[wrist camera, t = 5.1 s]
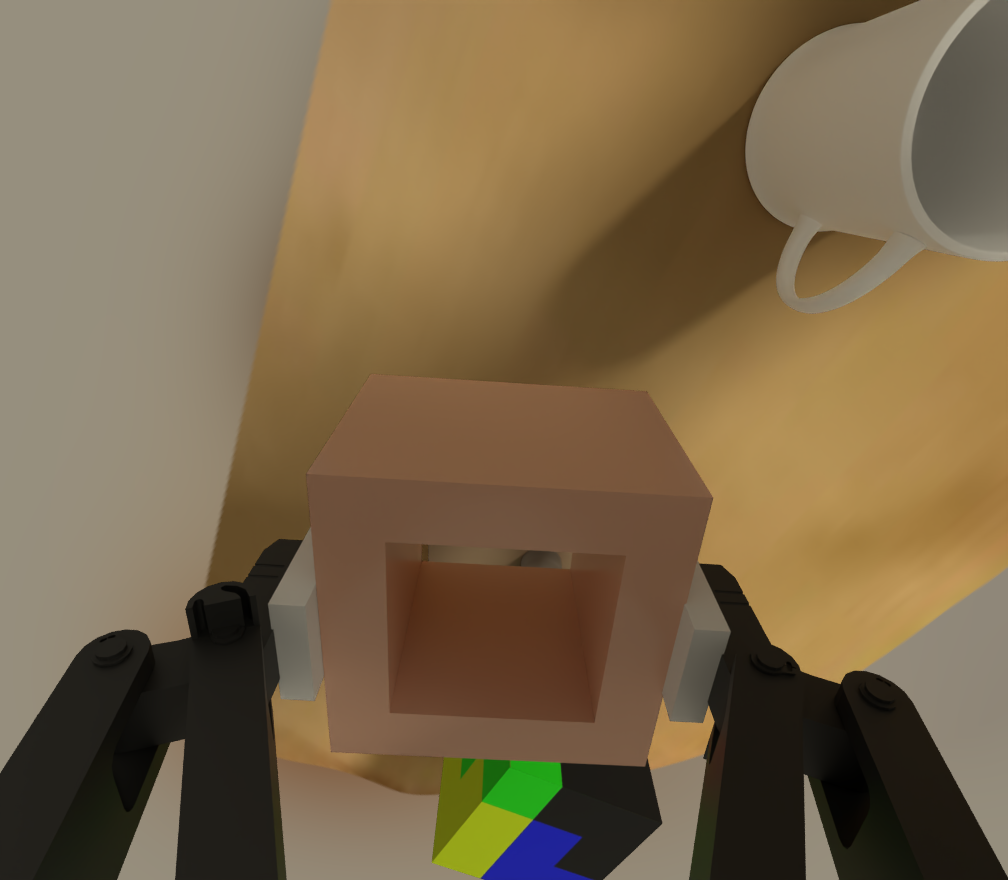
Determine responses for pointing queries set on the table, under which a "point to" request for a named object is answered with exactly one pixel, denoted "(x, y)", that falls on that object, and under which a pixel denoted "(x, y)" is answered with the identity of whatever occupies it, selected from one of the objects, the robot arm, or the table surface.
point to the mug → (888, 141)
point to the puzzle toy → (541, 818)
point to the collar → (501, 569)
